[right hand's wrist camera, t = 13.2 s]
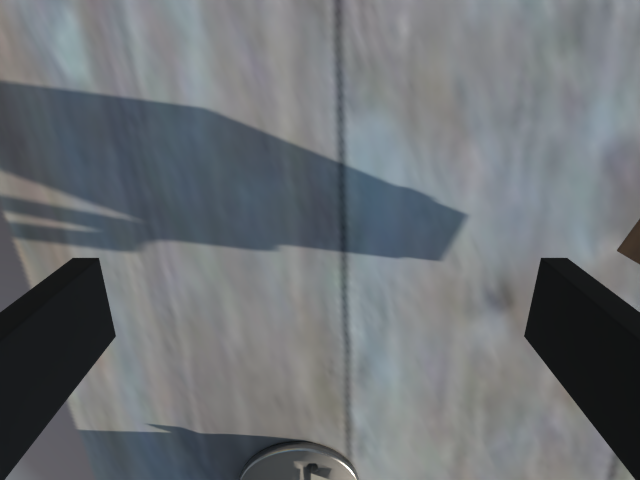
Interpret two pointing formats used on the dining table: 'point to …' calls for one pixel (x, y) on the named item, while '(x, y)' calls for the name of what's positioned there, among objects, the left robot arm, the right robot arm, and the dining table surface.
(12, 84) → the dining table surface
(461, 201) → the dining table surface
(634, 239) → the bar
